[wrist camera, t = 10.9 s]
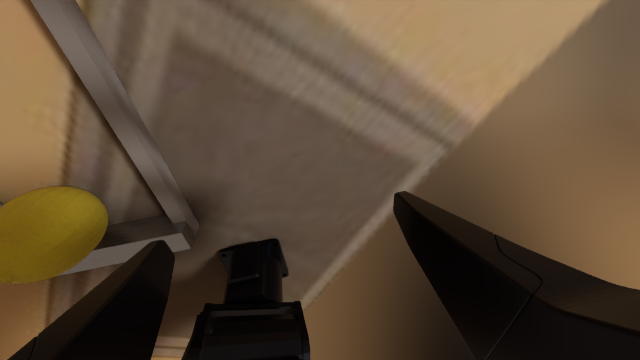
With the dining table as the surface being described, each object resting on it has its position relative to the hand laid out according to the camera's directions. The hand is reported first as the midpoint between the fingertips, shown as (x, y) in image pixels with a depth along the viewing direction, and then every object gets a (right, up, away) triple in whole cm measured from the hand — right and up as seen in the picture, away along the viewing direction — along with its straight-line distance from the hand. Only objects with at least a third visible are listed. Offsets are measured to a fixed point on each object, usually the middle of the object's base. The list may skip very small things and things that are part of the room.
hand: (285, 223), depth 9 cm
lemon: (-18, 0, +11) cm, 21 cm away
